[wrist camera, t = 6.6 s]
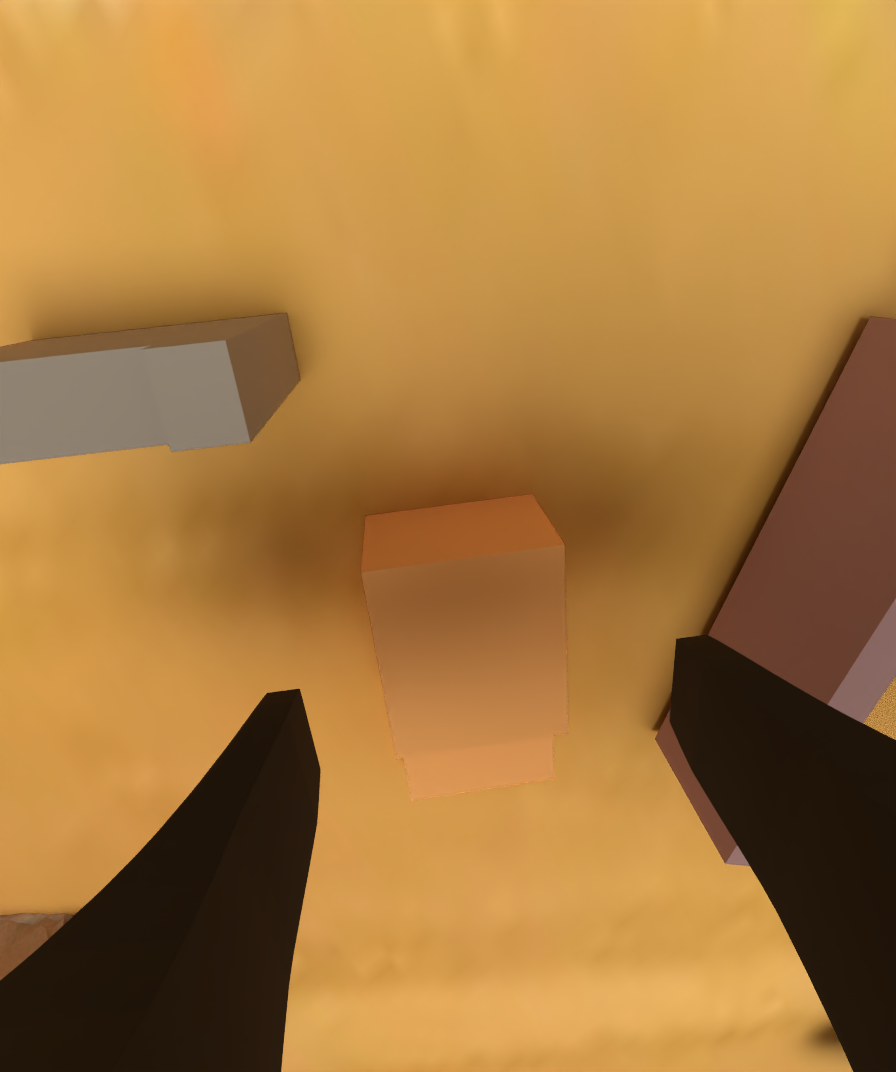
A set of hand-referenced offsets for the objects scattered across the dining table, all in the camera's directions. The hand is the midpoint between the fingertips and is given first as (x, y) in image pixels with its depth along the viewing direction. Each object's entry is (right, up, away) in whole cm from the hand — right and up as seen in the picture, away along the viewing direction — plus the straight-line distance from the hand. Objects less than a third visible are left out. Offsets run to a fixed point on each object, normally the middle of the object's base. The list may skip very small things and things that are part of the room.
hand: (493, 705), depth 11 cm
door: (+9, +2, +6) cm, 11 cm away
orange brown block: (0, 0, +7) cm, 7 cm away
